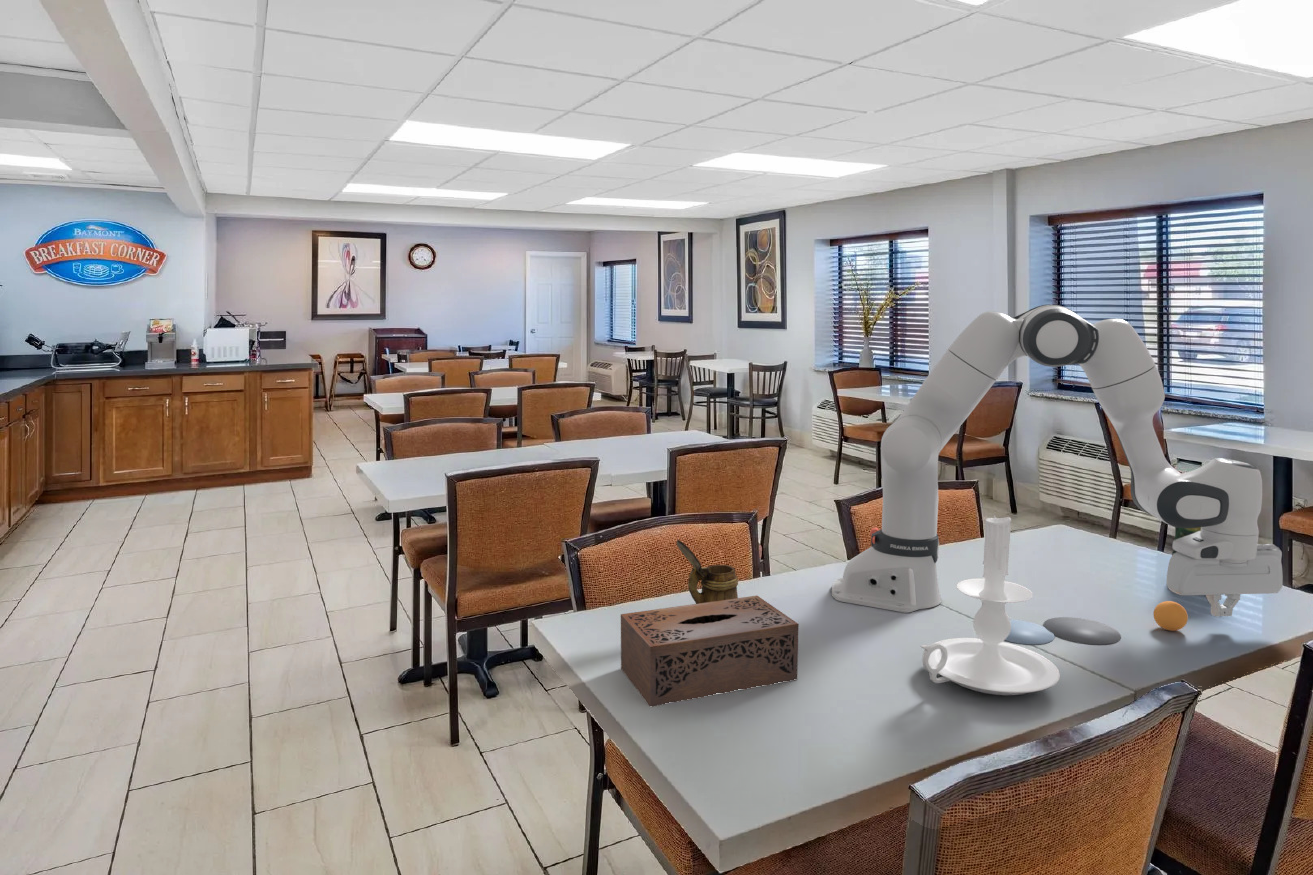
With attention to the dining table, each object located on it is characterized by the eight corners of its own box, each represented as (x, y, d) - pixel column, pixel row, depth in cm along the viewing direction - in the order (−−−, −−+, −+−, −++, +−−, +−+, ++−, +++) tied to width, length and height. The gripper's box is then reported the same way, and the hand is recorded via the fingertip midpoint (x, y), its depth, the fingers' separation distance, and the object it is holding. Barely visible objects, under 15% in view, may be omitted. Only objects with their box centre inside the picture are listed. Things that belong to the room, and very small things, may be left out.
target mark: (1048, 639, 148) (1048, 638, 148) (1039, 615, 160) (1039, 614, 160) (1128, 648, 144) (1128, 647, 144) (1112, 622, 156) (1112, 621, 156)
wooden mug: (667, 623, 157) (667, 533, 154) (729, 613, 162) (730, 526, 159) (686, 639, 148) (686, 545, 146) (750, 629, 153) (751, 537, 151)
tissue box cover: (650, 708, 123) (650, 646, 122) (621, 670, 136) (620, 614, 135) (797, 681, 132) (798, 623, 131) (756, 648, 145) (757, 595, 144)
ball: (1156, 633, 151) (1159, 605, 150) (1148, 622, 156) (1151, 595, 155) (1190, 636, 149) (1193, 608, 148) (1181, 626, 154) (1184, 598, 154)
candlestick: (876, 671, 135) (883, 509, 131) (986, 647, 145) (995, 495, 141) (969, 728, 116) (980, 541, 112) (1088, 695, 126) (1102, 522, 122)
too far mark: (987, 639, 148) (987, 638, 148) (982, 616, 159) (982, 616, 159) (1059, 648, 144) (1059, 647, 144) (1049, 623, 155) (1049, 623, 155)
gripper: (1268, 539, 154) (1261, 608, 156) (1164, 541, 153) (1158, 610, 155) (1295, 548, 147) (1287, 620, 149) (1186, 550, 147) (1180, 622, 149)
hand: (1221, 615), depth 152 cm, fingers closed
